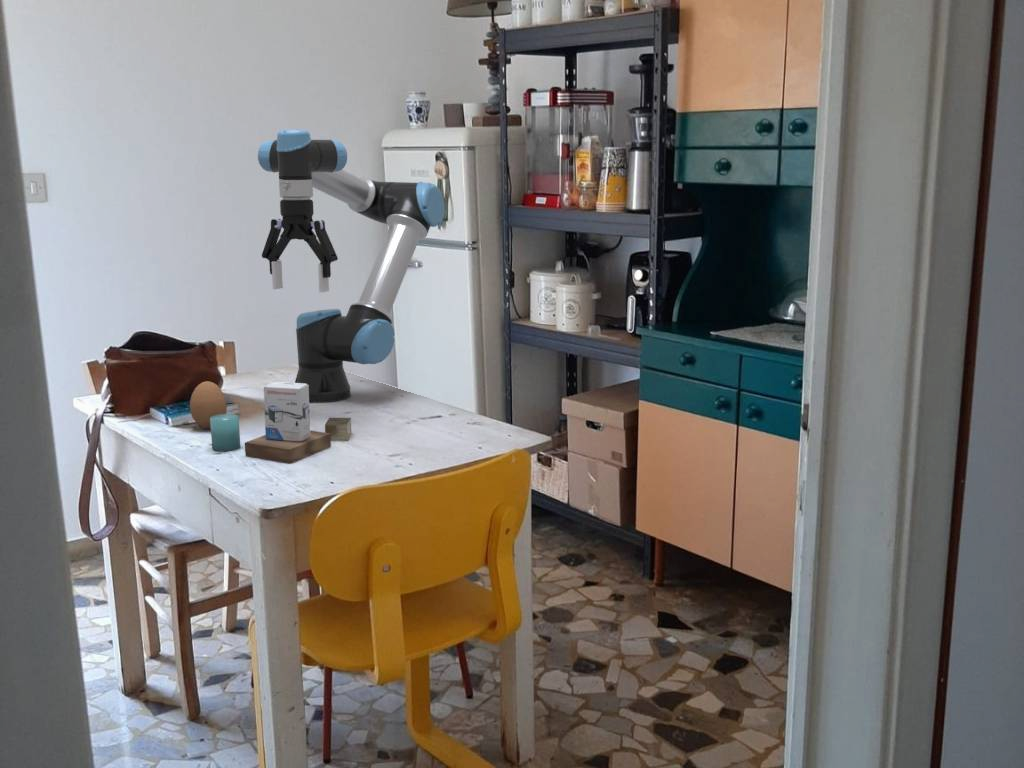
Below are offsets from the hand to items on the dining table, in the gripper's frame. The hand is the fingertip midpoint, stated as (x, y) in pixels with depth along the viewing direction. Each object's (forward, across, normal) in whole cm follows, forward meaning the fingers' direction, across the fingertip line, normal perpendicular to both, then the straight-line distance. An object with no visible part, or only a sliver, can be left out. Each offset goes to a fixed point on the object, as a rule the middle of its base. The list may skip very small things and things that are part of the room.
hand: (300, 290), depth 232 cm
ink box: (+29, +13, -23) cm, 39 cm away
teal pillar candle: (+32, -1, -27) cm, 42 cm away
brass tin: (+32, +16, -9) cm, 37 cm away
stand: (+32, +13, -23) cm, 41 cm away
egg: (+32, -16, -16) cm, 39 cm away
